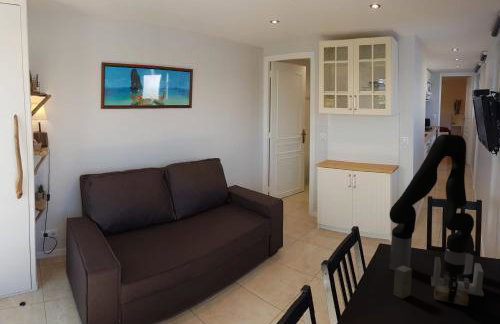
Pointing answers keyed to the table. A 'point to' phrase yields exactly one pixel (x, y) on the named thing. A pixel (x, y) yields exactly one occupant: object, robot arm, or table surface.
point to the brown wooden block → (443, 294)
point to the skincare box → (402, 281)
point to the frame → (465, 286)
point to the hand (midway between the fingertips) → (450, 298)
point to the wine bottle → (468, 258)
